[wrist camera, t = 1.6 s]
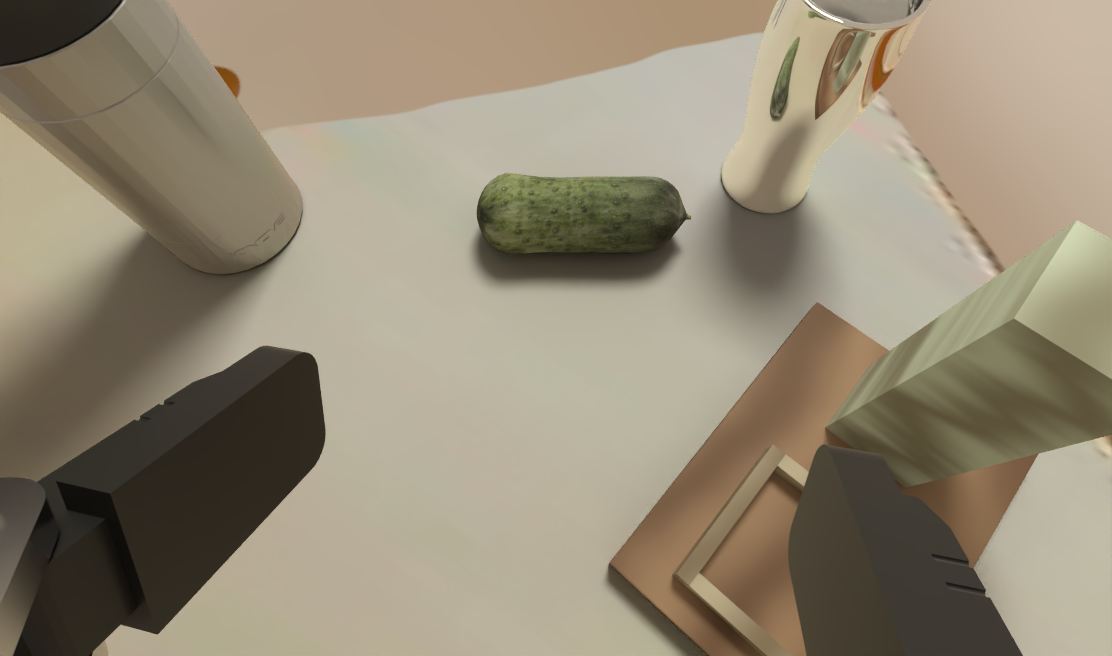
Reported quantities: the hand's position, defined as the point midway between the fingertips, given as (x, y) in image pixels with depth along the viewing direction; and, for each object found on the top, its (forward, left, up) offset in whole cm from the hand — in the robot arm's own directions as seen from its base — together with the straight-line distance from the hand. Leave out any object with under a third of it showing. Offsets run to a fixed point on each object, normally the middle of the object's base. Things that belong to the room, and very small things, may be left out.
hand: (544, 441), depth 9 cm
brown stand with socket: (+10, +11, -25) cm, 29 cm away
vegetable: (-12, +16, -25) cm, 32 cm away
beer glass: (-5, +28, -25) cm, 38 cm away
